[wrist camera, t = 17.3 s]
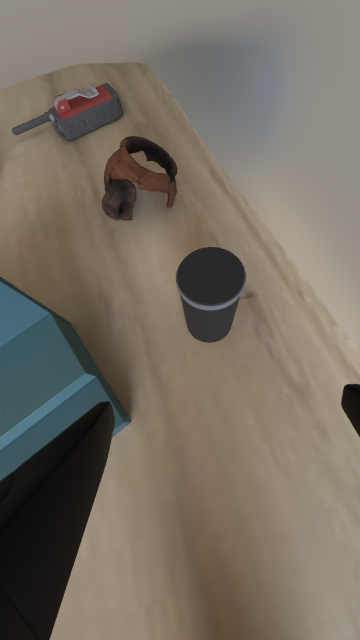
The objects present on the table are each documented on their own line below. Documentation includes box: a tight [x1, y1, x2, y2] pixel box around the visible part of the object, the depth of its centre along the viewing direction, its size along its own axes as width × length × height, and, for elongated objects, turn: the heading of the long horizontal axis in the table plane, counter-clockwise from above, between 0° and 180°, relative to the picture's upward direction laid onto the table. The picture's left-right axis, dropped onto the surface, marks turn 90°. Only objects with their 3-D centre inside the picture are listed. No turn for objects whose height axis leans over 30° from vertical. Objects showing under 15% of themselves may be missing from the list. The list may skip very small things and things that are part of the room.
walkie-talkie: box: [12, 83, 123, 141], centre depth 40 cm, size 9×4×20 cm
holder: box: [176, 247, 246, 342], centre depth 20 cm, size 5×5×9 cm
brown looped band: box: [102, 136, 177, 220], centre depth 29 cm, size 12×9×8 cm
